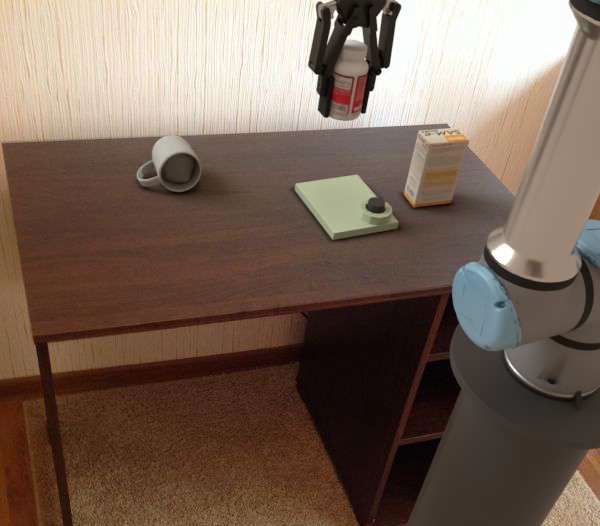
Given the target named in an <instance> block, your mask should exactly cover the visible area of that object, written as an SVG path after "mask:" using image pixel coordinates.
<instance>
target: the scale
mask: <svg viewBox="0 0 600 526" xmlns="http://www.w3.org/2000/svg"><path fill="white" fill-rule="evenodd" d="M294 184H295V185H294V191H295V192H296V194H297V195H298V197H299V198H300V199H301V200H302V202H303V204H305V206H306V207H307V208H308V210H309V212H311V213H312V215H313V216H314V217H315V219H316V220H317V221H318V223H319V224H320V226H322V228H323V229H324V230H325V232H326V233H327V235H328V236H329V237H330V239H331V240H332V241H335V240H341V239H346V238H352V237H358V236H364V235H370V234H375V233H380V232H386V231H390V230H391V231H392V230H397V229H398V227H399V224H400V223H399V221H398V219H397V218H396V217H395V216H394V215H393V207H392V206H391V205H390V204H389V202H387V201H385V207H384V211H383V213H380V214H376V213H372V212H370V211H368V210H367V205H368V200H369V199H370V198H372V197H378V196H376V194H375V193H374V192H373V191H372V189H371V188H370V187H369V186H368V185H367V184H366V183H365V182H364V180H363V179H362V178H361V176H360V175H359V174H353V175H352V174H351V175H345V176H338V177H331V178H324V179H317V180H310V181H304V182H297V183H294Z"/></svg>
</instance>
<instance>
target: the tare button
mask: <svg viewBox="0 0 600 526" xmlns="http://www.w3.org/2000/svg"><path fill="white" fill-rule="evenodd" d="M385 202H386V201H385V200H384V199H383V198H381V197H378V196H377V197H372V198H370V199H369V200H368V205H367V210H368V211H370V212H372V213H376V214H380V213H383V211H384V207H385Z"/></svg>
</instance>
